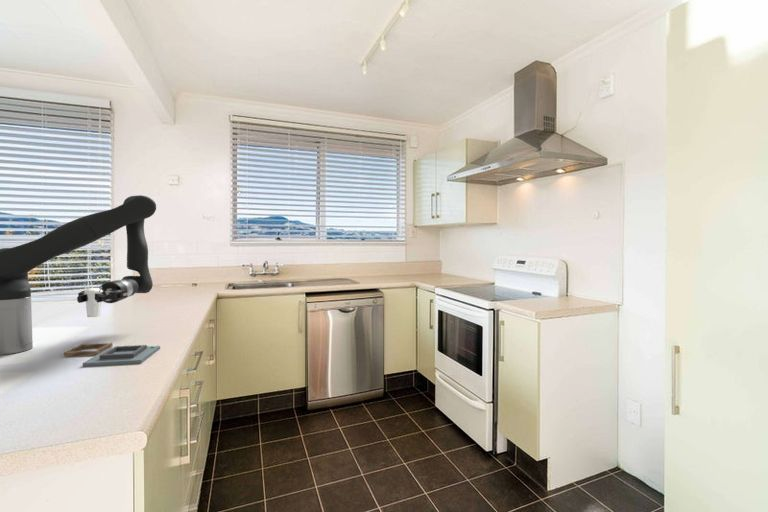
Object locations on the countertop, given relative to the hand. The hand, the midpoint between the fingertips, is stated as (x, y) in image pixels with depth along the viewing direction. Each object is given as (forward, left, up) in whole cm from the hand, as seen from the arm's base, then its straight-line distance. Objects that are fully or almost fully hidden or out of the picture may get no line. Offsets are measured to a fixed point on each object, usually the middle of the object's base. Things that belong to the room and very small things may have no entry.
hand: (88, 299), depth 110 cm
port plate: (+11, -4, -18) cm, 21 cm away
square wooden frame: (-2, +4, -18) cm, 18 cm away
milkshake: (0, +3, -6) cm, 7 cm away
